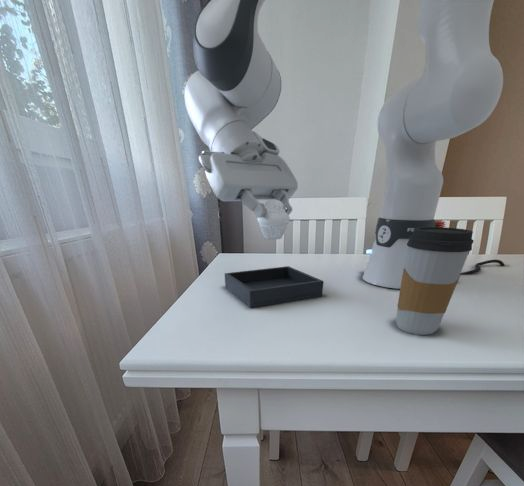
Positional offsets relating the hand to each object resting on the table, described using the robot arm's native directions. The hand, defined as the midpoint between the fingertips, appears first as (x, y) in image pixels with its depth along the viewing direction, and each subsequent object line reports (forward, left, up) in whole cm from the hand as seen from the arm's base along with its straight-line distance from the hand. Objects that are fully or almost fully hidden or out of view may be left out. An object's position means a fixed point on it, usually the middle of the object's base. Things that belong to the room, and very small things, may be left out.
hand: (276, 214), depth 55 cm
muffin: (0, -1, -5) cm, 5 cm away
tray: (0, -2, -16) cm, 16 cm away
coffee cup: (-13, +25, -16) cm, 32 cm away
